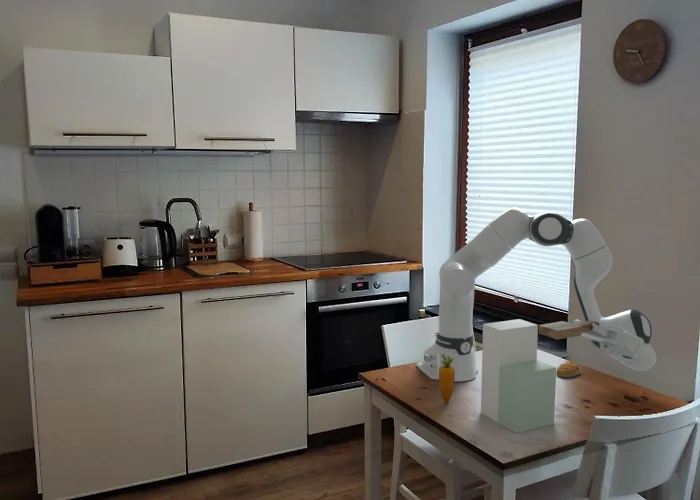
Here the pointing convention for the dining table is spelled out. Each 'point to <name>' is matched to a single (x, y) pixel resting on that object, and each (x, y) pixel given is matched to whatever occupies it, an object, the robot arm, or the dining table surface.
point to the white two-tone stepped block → (516, 377)
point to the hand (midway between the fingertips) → (586, 324)
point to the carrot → (446, 379)
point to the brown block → (565, 329)
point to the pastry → (568, 369)
